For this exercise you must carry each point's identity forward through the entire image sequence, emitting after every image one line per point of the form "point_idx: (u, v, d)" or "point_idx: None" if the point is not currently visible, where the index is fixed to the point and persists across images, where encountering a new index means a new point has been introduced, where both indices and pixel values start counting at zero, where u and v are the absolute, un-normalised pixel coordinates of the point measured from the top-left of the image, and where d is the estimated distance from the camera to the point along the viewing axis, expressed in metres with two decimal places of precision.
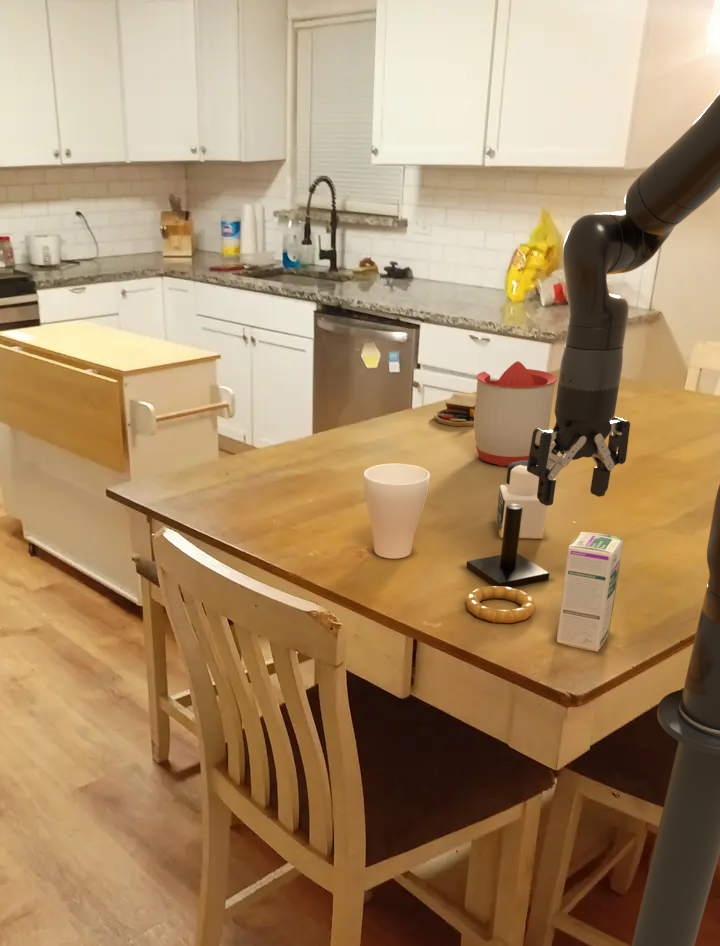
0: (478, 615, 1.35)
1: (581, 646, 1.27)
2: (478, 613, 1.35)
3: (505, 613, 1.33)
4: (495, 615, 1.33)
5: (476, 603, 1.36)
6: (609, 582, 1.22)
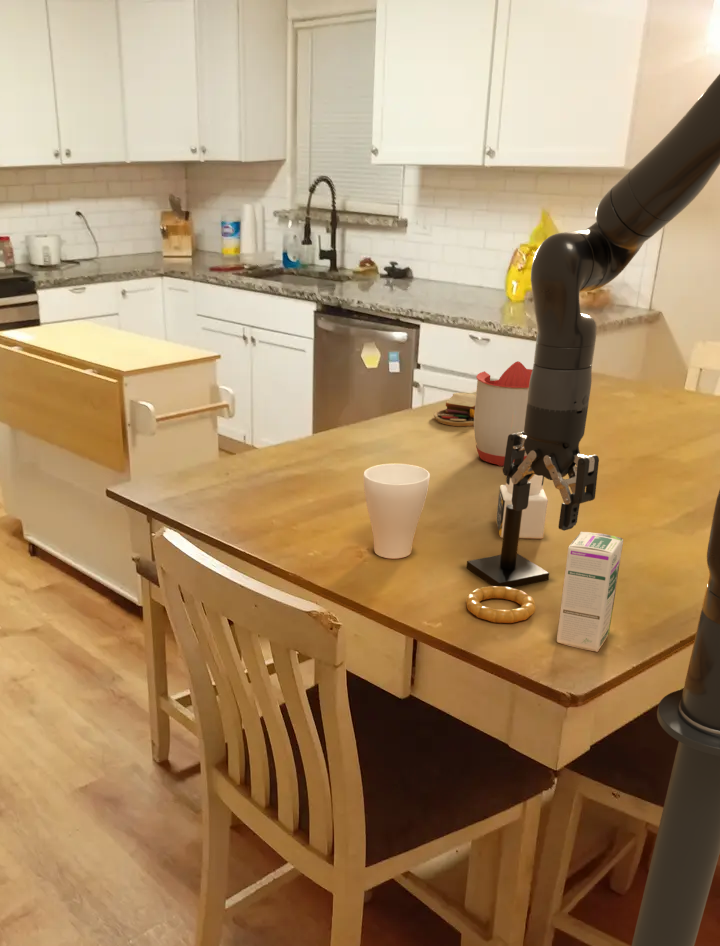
0: (478, 615, 1.35)
1: (581, 646, 1.27)
2: (478, 613, 1.35)
3: (505, 613, 1.33)
4: (495, 615, 1.33)
5: (476, 603, 1.36)
6: (609, 582, 1.22)
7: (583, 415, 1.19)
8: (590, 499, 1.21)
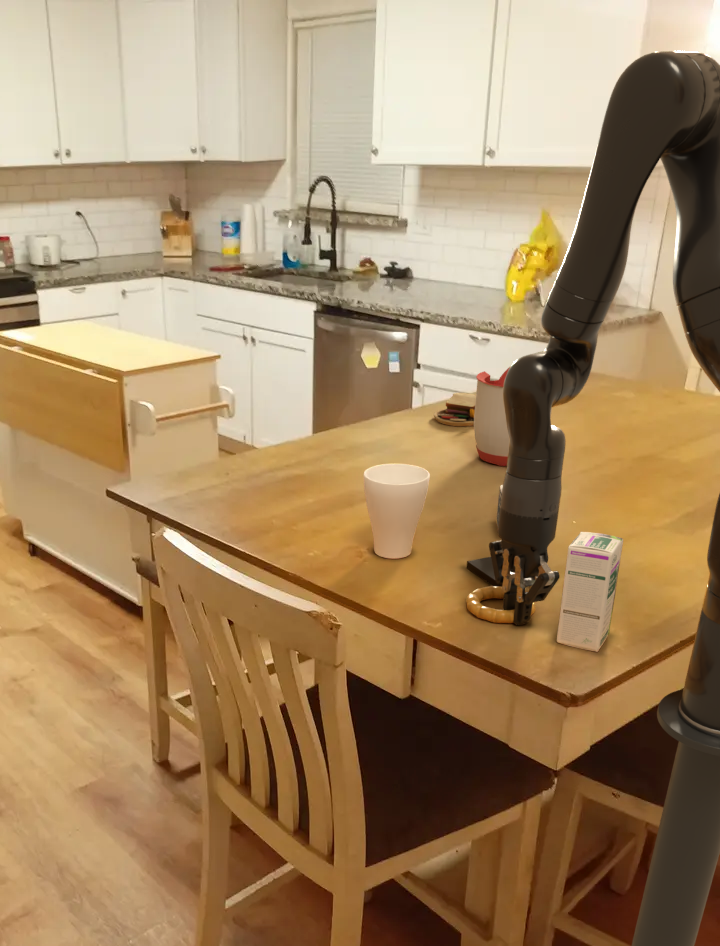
0: (478, 615, 1.35)
1: (581, 646, 1.27)
2: (478, 613, 1.35)
3: (505, 613, 1.33)
4: (495, 615, 1.33)
5: (477, 603, 1.36)
6: (609, 582, 1.22)
7: (551, 521, 1.24)
8: (539, 600, 1.29)
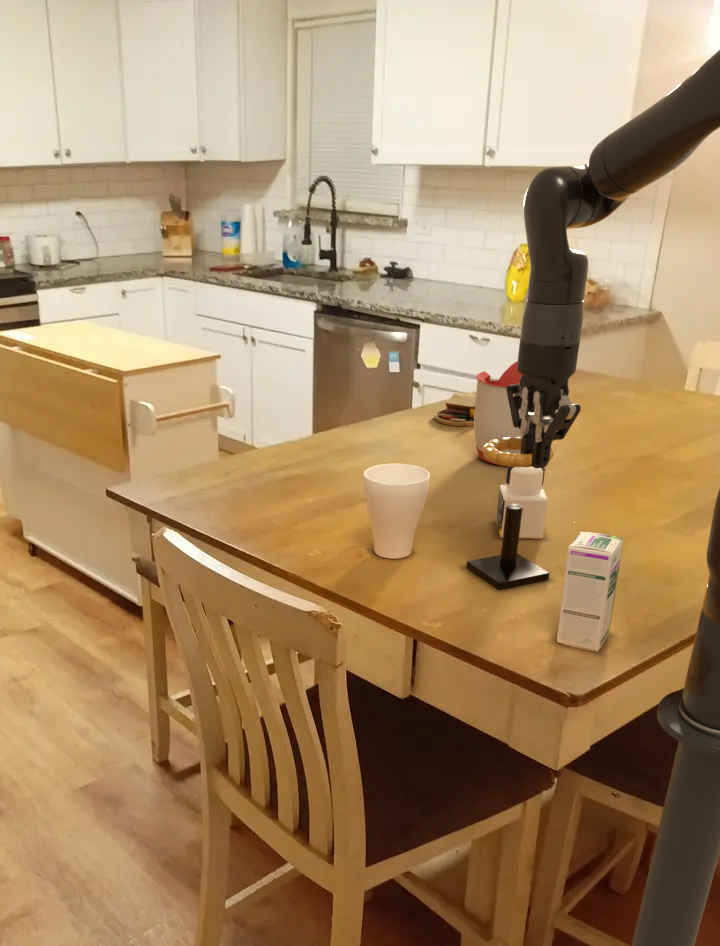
0: (495, 460, 1.32)
1: (581, 646, 1.27)
2: (495, 458, 1.32)
3: (523, 456, 1.31)
4: (513, 458, 1.31)
5: (493, 449, 1.33)
6: (609, 582, 1.22)
7: (572, 351, 1.22)
8: (558, 439, 1.27)
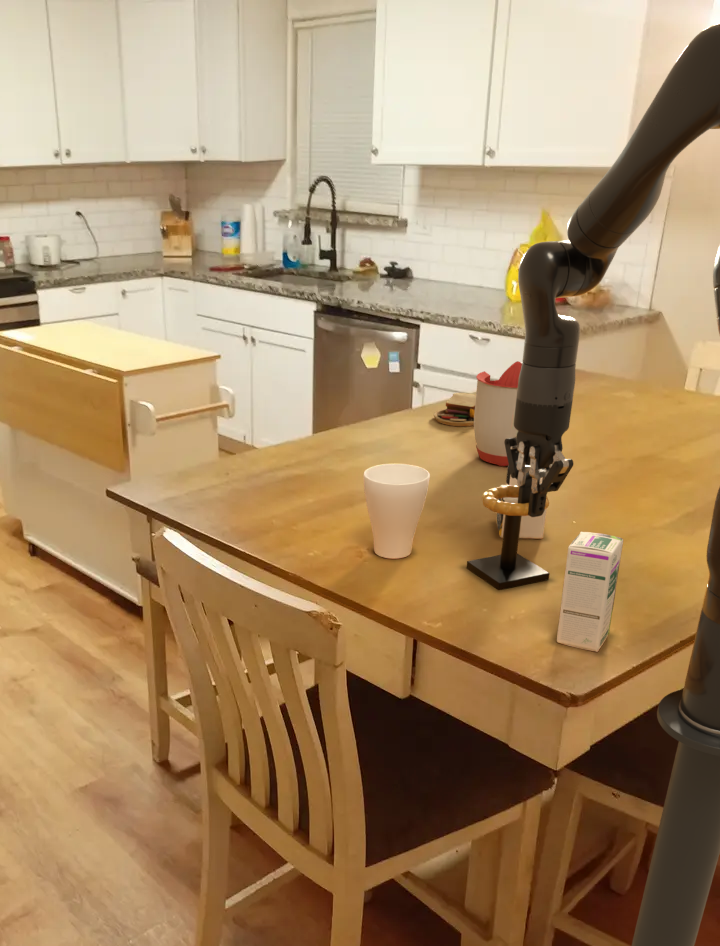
0: (494, 509, 1.40)
1: (581, 646, 1.27)
2: (494, 507, 1.40)
3: (520, 506, 1.38)
4: (510, 508, 1.39)
5: (492, 498, 1.41)
6: (609, 582, 1.22)
7: (565, 410, 1.29)
8: (553, 490, 1.35)
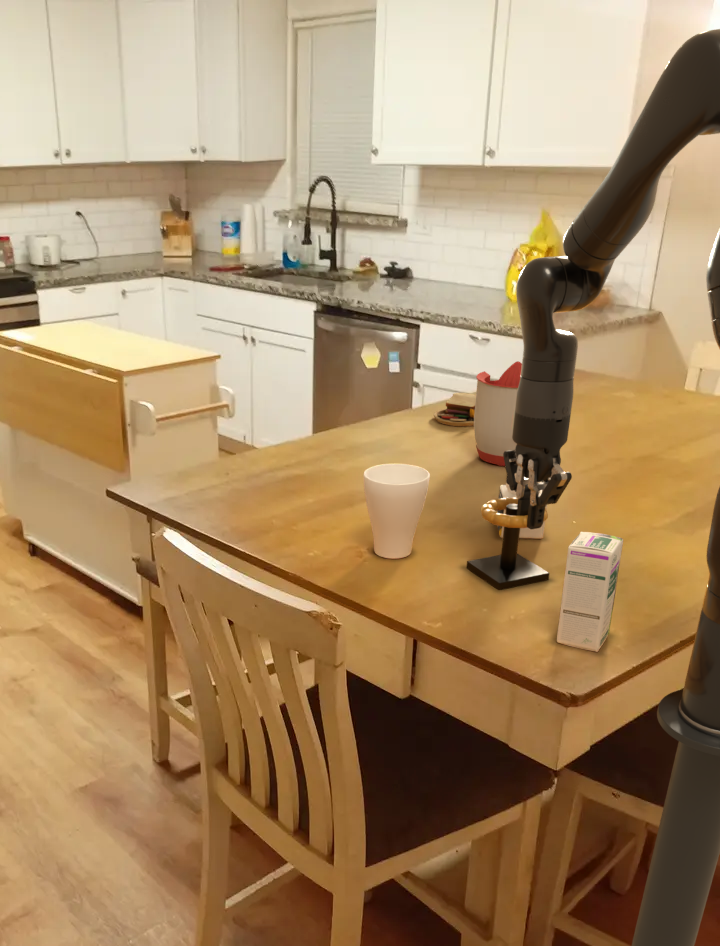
0: (493, 521, 1.41)
1: (581, 646, 1.27)
2: (493, 519, 1.41)
3: (519, 518, 1.39)
4: (509, 520, 1.39)
5: (491, 510, 1.42)
6: (609, 582, 1.22)
7: (563, 424, 1.30)
8: (551, 503, 1.35)
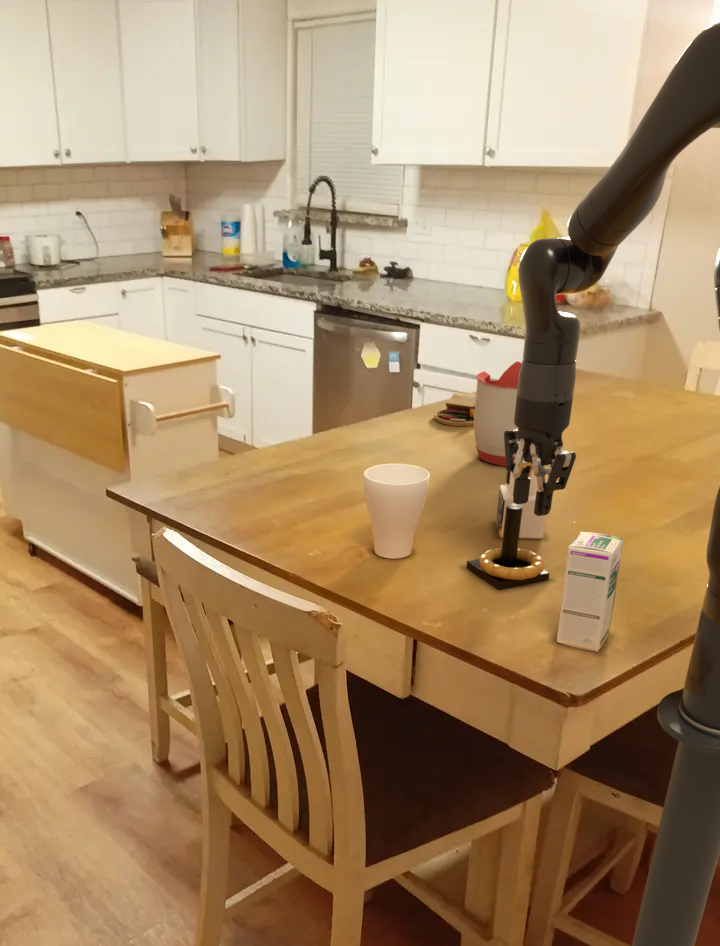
0: (491, 573, 1.44)
1: (581, 646, 1.27)
2: (491, 571, 1.44)
3: (516, 570, 1.43)
4: (507, 572, 1.43)
5: (489, 562, 1.45)
6: (609, 582, 1.22)
7: (566, 407, 1.29)
8: (560, 489, 1.33)
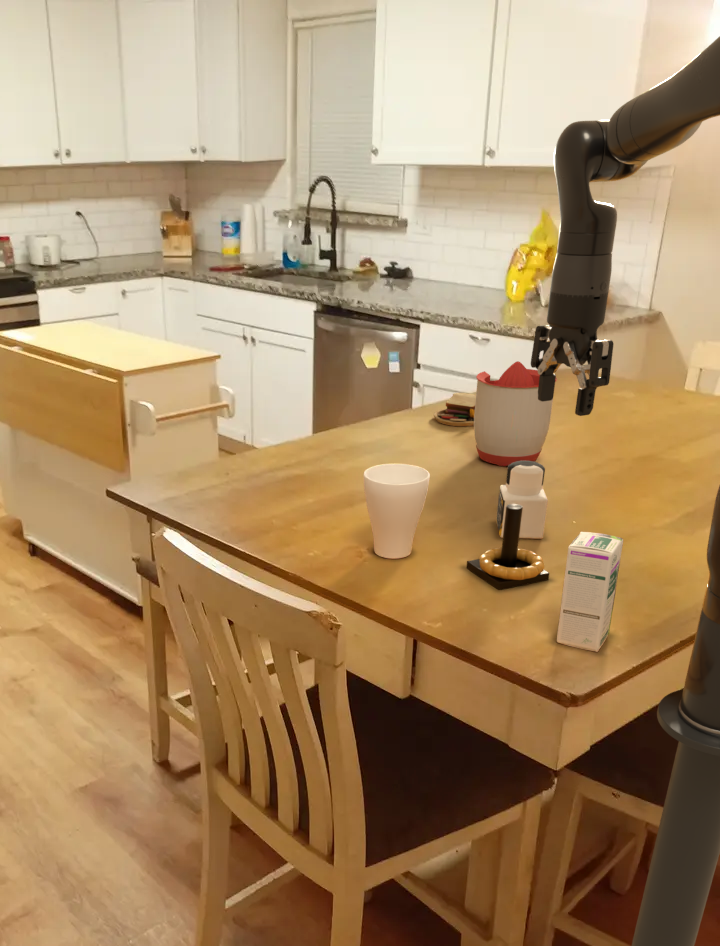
0: (491, 573, 1.44)
1: (581, 646, 1.27)
2: (491, 571, 1.44)
3: (516, 570, 1.43)
4: (507, 572, 1.43)
5: (489, 562, 1.45)
6: (609, 582, 1.22)
7: (601, 302, 1.26)
8: (604, 383, 1.28)
